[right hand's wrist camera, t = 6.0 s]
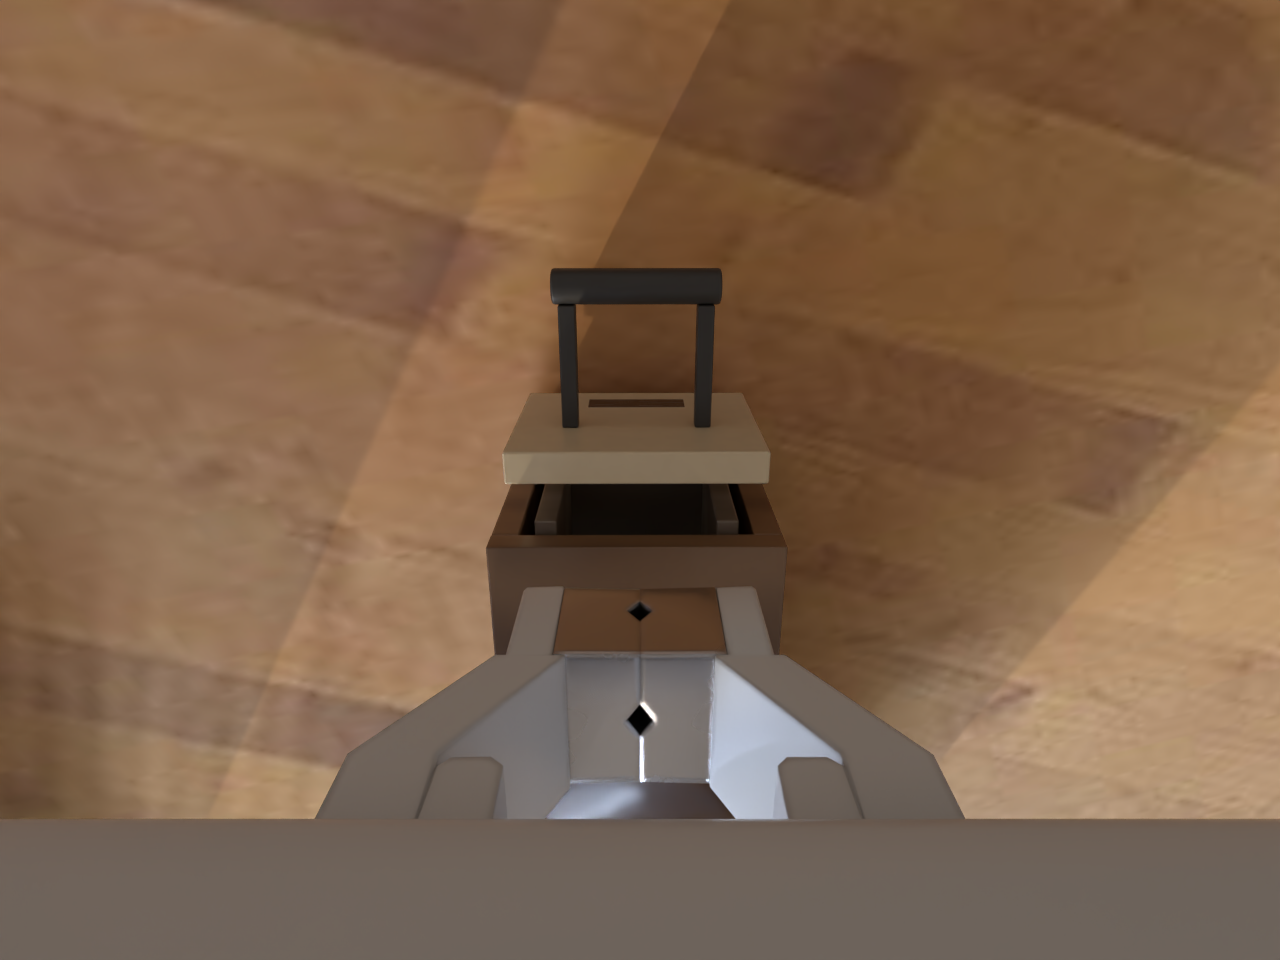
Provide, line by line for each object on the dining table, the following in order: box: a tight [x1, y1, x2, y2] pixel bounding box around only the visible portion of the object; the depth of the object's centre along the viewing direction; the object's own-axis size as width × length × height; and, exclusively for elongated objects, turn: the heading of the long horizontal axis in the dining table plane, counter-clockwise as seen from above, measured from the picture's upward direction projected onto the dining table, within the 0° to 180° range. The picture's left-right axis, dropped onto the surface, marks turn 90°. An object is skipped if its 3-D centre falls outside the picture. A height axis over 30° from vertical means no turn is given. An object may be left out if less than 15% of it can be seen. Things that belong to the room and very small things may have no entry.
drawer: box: [502, 268, 771, 535], centre depth 32 cm, size 24×9×8 cm, turn 0°
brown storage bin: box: [486, 483, 787, 819], centre depth 35 cm, size 20×10×10 cm, turn 0°
